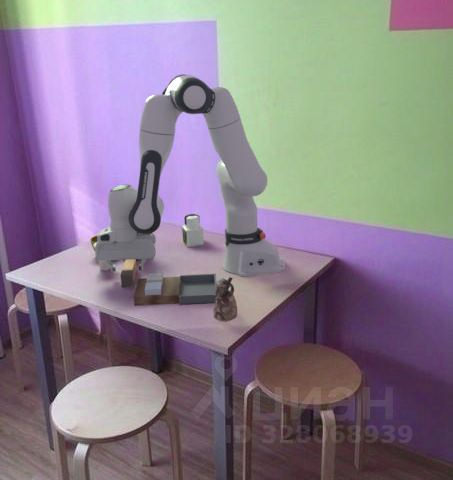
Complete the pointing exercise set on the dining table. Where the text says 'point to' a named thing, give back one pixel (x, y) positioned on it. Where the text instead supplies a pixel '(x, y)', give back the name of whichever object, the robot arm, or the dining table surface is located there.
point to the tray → (197, 289)
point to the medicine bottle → (192, 231)
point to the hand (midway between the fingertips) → (127, 270)
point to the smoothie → (103, 263)
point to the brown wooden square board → (167, 295)
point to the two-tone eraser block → (128, 273)
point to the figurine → (225, 301)
